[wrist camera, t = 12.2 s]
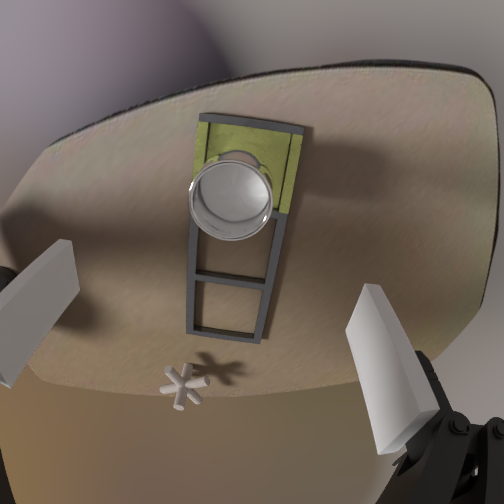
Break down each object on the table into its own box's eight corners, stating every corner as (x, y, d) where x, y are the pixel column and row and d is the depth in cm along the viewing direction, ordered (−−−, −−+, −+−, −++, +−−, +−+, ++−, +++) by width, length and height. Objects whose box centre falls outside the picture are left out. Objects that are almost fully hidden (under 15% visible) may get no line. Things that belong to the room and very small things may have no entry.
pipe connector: (196, 342, 50) (185, 386, 41) (223, 375, 54) (218, 417, 45) (153, 354, 52) (139, 394, 43) (182, 385, 56) (173, 423, 47)
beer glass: (220, 196, 38) (196, 248, 24) (209, 143, 35) (176, 166, 21) (274, 188, 37) (281, 237, 24) (266, 134, 34) (268, 150, 20)
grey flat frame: (187, 328, 49) (185, 334, 47) (201, 113, 33) (199, 113, 32) (259, 339, 49) (259, 344, 48) (302, 127, 33) (304, 127, 32)
